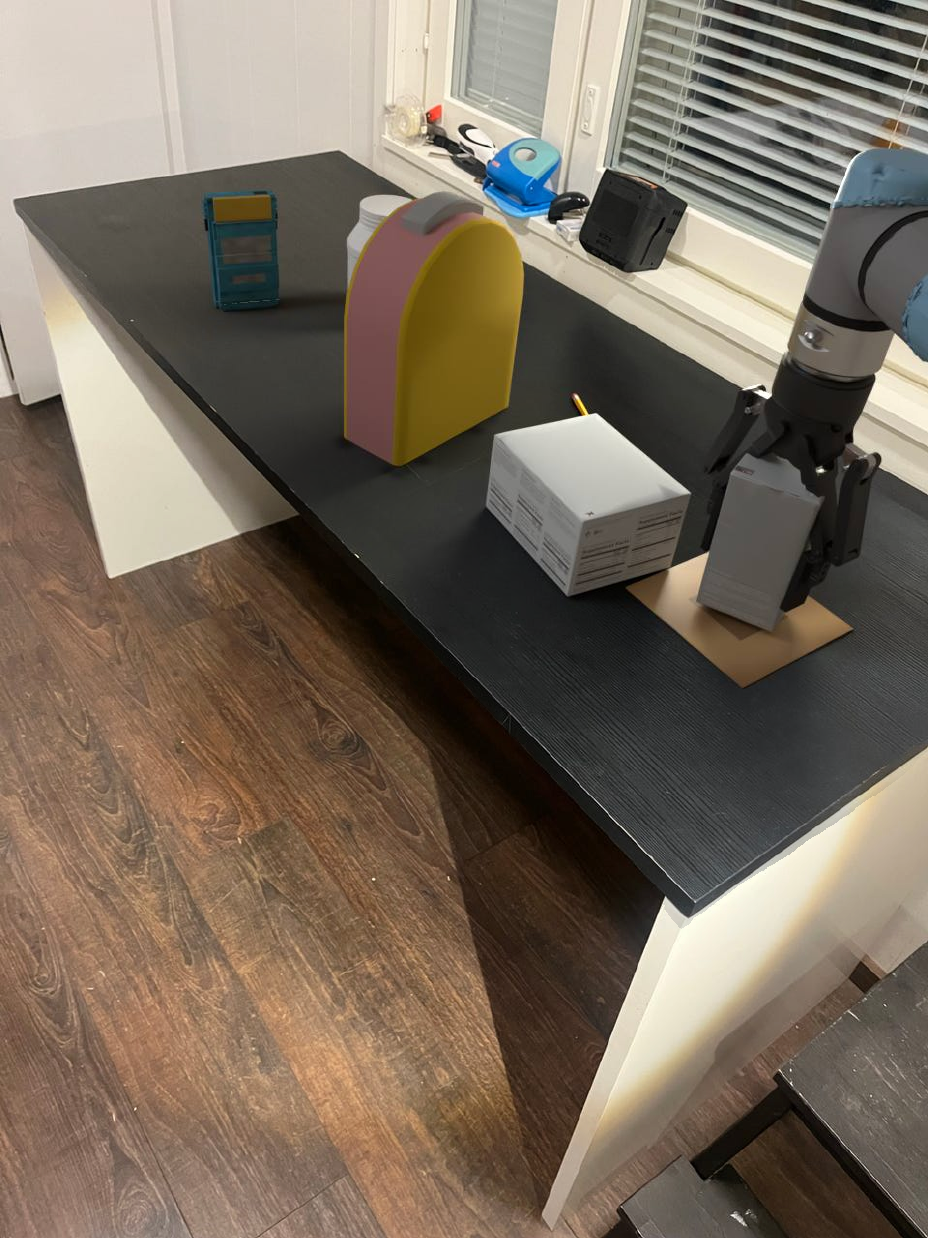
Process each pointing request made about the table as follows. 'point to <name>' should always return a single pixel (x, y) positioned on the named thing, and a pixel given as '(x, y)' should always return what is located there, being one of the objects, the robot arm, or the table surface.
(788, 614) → the cork mat
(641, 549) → the supplement box
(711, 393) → the table surface
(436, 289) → the lunch box
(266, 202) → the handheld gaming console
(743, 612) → the cosmetic box
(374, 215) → the jar
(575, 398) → the pencil
